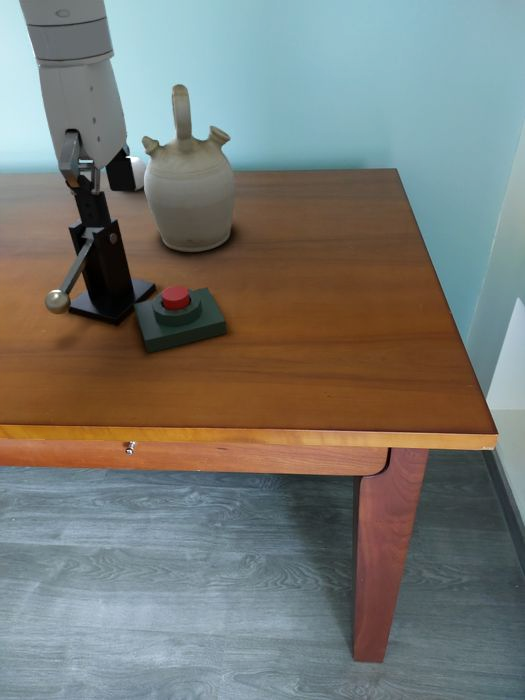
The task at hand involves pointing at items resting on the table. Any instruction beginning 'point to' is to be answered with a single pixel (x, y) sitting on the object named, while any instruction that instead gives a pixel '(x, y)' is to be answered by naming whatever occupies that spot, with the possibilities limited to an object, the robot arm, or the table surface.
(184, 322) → the button box
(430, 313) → the table surface
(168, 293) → the button
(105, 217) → the robot arm
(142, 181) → the plain white apple
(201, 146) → the jug
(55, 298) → the lever
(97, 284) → the bracket
